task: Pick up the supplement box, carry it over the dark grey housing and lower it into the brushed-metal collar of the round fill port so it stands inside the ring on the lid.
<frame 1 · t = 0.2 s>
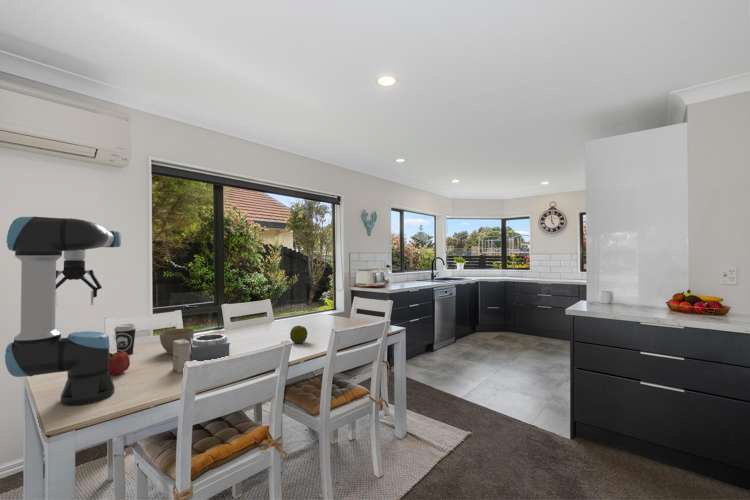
hand: (73, 305, 161), 28 cm above the table, fingers open, 13 cm apart
planter bowl: (176, 352, 184), on the table
housing: (209, 356, 176), on the table
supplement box: (181, 370, 155), on the table
vegetable: (114, 374, 150), on the table
coffee cup: (125, 354, 179), on the table
olive green ball: (298, 343, 204), on the table
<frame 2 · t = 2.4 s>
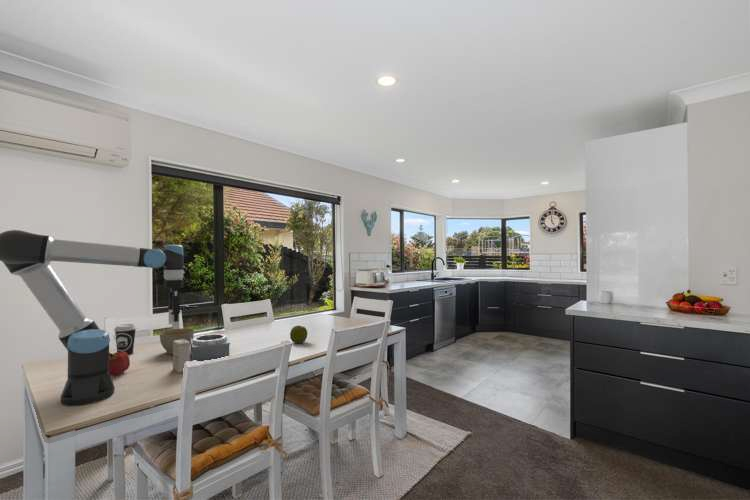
hand: (173, 326, 156), 20 cm above the table, fingers open, 13 cm apart
nothing on the table moved.
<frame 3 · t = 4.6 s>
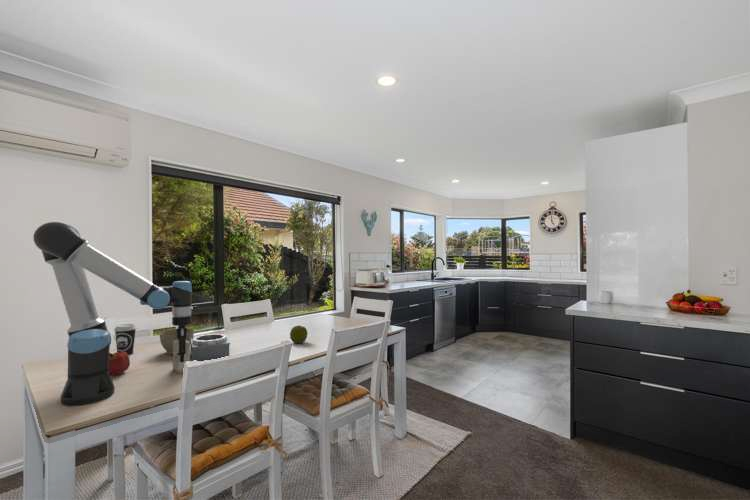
hand: (181, 365, 155), 2 cm above the table, fingers closed on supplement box, 9 cm apart
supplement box: (181, 370, 155), on the table, touching gripper
everything else where it was.
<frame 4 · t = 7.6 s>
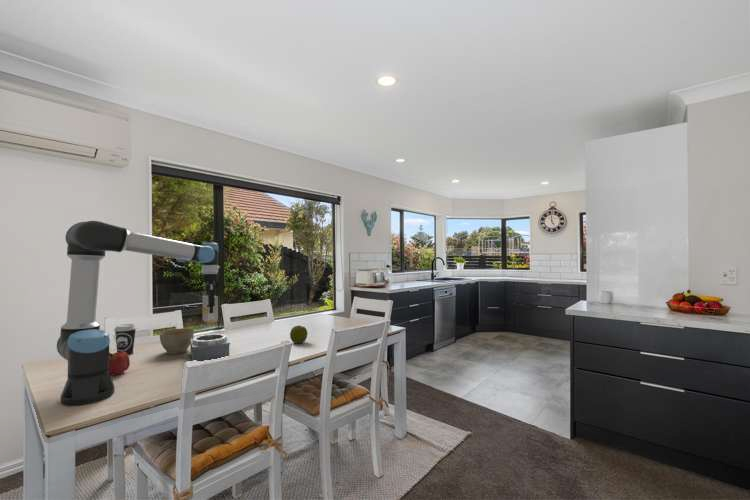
hand: (210, 317, 174), 20 cm above the table, fingers closed on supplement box, 9 cm apart
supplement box: (210, 322, 174), point 18 cm above the table, touching gripper
everything else where it was.
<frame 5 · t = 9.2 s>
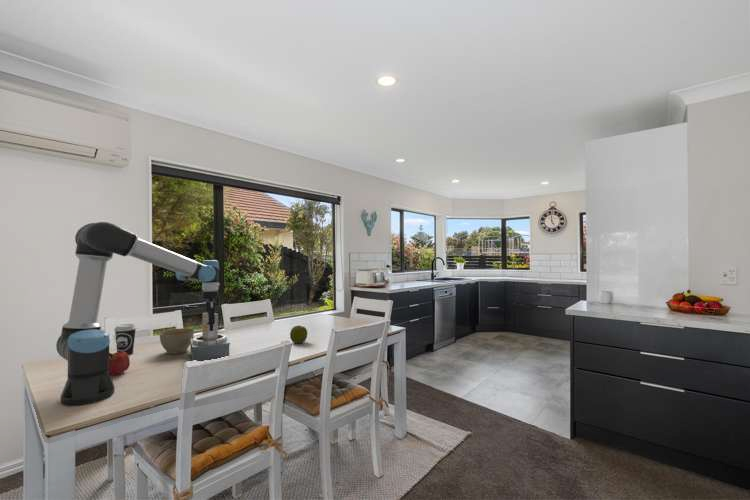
hand: (209, 335, 175), 11 cm above the table, fingers closed on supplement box, 9 cm apart
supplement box: (210, 339, 175), point 9 cm above the table, touching gripper
everything else where it was.
when the fingers open (11 cm above the table, at t = 10.4 s): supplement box stays where it is, resting on housing.
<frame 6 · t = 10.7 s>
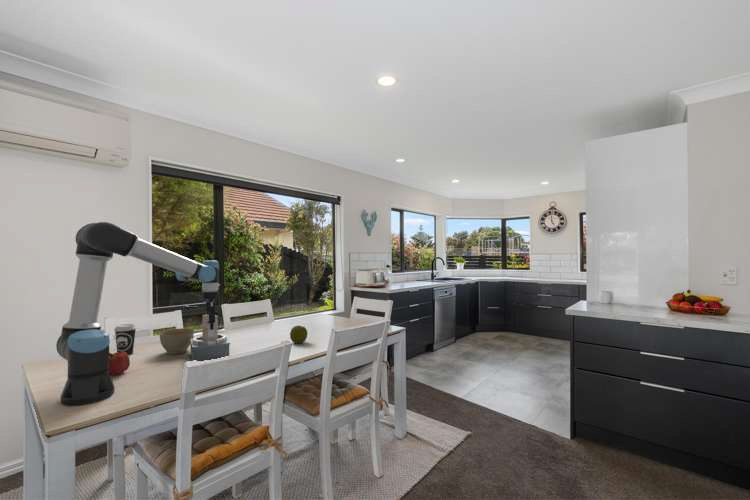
hand: (210, 333, 175), 12 cm above the table, fingers open, 12 cm apart
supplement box: (209, 341, 175), point 8 cm above the table, touching housing
everything else where it was.
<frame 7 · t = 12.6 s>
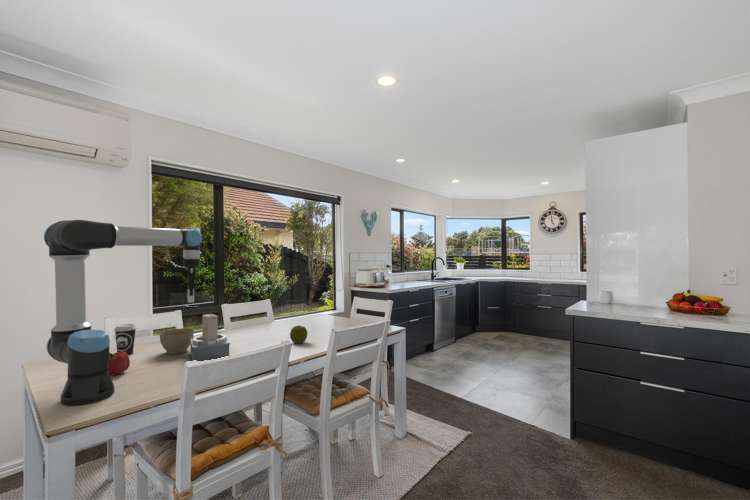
hand: (190, 300, 174), 29 cm above the table, fingers open, 13 cm apart
nothing on the table moved.
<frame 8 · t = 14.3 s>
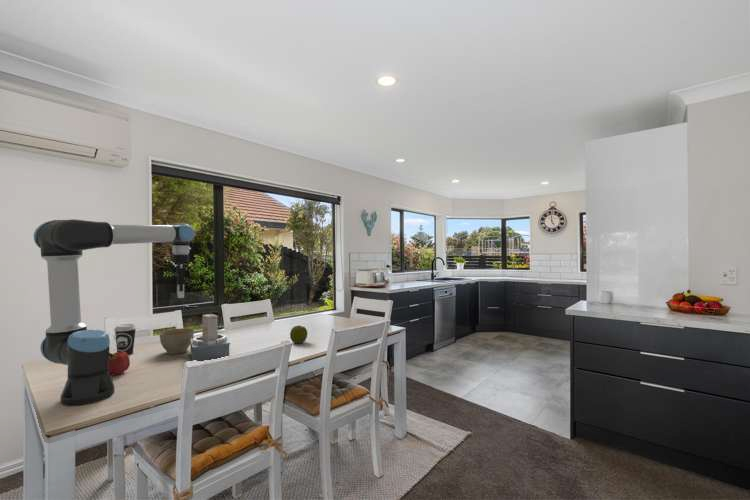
hand: (180, 296, 174), 31 cm above the table, fingers open, 13 cm apart
nothing on the table moved.
at the end: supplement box inside the target area on the housing (0.1 cm from its centre), point 7.9 cm above the housing's base; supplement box tilted 0°; the gripper is holding nothing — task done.
